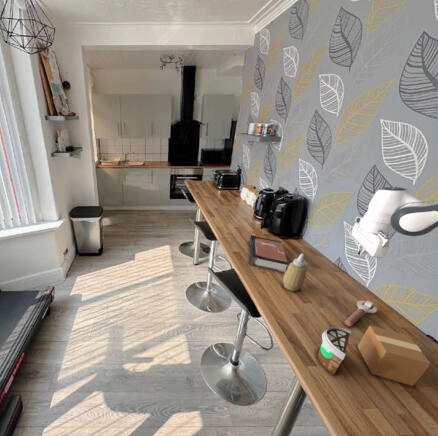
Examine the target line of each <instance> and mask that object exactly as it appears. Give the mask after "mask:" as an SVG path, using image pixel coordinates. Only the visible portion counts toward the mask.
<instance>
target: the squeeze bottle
mask: <svg viewBox="0 0 438 436" xmlns="http://www.w3.org/2000/svg"><path fill="white" fill-rule="evenodd" d="M306 265H307V261H306V260H305V254H304V253H302V252H301V253H300V254H299V256H298V257H296V258H294V259H293V261H292V262H289V264H288V266H287V268H286V273H285V272H284V275H283V277H282V280H283V287H284V288H285V289H286V290H288V291H290V292H291V291H292V292H298V291H299V290H300V289H301V288H303V286H304V283H305V279H306V274H307V270H308V269H307V266H306Z"/></svg>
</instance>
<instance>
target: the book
mask: <svg viewBox="0 0 438 436" xmlns="http://www.w3.org/2000/svg"><path fill="white" fill-rule="evenodd" d="M248 244H249V245H250V259H249V265H250V266H253V267H257V268H263V269H268V270H272V271H276V272H280V273H284V274H285V273H286V271H287V268H288V267H289V264H288V260H287V257H286V255H287V254H286V252H287V251H286V250H285V249H284V246H283V243H282V241H281V240H276V239H272V238H266V237H260V236H257V235H253V234H252V235H251V234H250V238H249V242H248Z"/></svg>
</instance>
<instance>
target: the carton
mask: <svg viewBox="0 0 438 436" xmlns="http://www.w3.org/2000/svg"><path fill="white" fill-rule="evenodd" d="M357 348H358V351H359V352H360V354H361V356H362V358H363V360H364V362H365V363H366V366H367V368H368V369H369V371H370V374H371V375H373V376H376V377H377V376H378V377H381V378H384V379H387V380H391V381H394V382H398V383H400V384H404V385H408V386H411V387H414V386H415V385H416V383H417V382H418V381H419V379H420V378H421V377H422V376H423V374H425V372H426V370H427V369H428V368H429V367H430V365H431V364H432V363H431V362H430V361H429V360H428V358H427V357H426V355H425V354H424V353H423V351H422V350H421V348H420V347H419V346H418V345H417V344H416V343H415V341H414V340H413V339H412V337H410V335H409V334H406V333H402V332H397V331H393V330H390V329H387V328H383V327H378V326H374V325H369V326H368V328H367V329H366V330H365V333H364V334H363V336H362V338H361V339H360V341H359V343H358V345H357Z"/></svg>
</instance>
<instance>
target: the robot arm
mask: <svg viewBox="0 0 438 436" xmlns="http://www.w3.org/2000/svg"><path fill="white" fill-rule="evenodd" d="M354 221H355V223H354V224H353V227H352V230H351V237H352V238H353V239H354V240H355V241H356V242H357V243H358V245H357V246H358V248H357V252H356V254H357V255H358V256H359V257H360V258H366V257H367V255H368V254H369V255H370V256H371V257H372V258H378V259H383V258H385V256H386V254H387V251H388V250H389V247H390V240H389V236H388V234H389V233H390V231H391V229H394V230H395V231H396V233H398V234H401V235H404V236H408V237H421V236H425V235H426V234H429V233H430V232H432V231H433V230H435V229H437V228H438V202H436V203H430V202H428V201H425V200H423V199H420V198H419V197H417V196H416V195H414V194H412V193H411V192H410V191H409V190H408V189H407V188H405V187H399V186H385V187H381V188H379V189H378V190H377V191H375V193H374V194H373V196H372V198H371V199H370V201H369V203H368V206H367V211H366V212H365V214H364V215H363V216H356V218H355V220H354Z"/></svg>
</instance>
